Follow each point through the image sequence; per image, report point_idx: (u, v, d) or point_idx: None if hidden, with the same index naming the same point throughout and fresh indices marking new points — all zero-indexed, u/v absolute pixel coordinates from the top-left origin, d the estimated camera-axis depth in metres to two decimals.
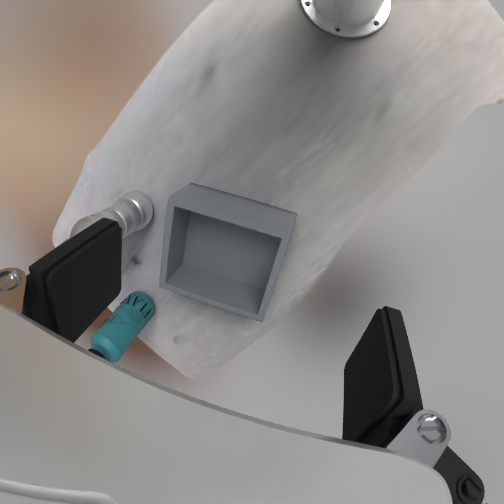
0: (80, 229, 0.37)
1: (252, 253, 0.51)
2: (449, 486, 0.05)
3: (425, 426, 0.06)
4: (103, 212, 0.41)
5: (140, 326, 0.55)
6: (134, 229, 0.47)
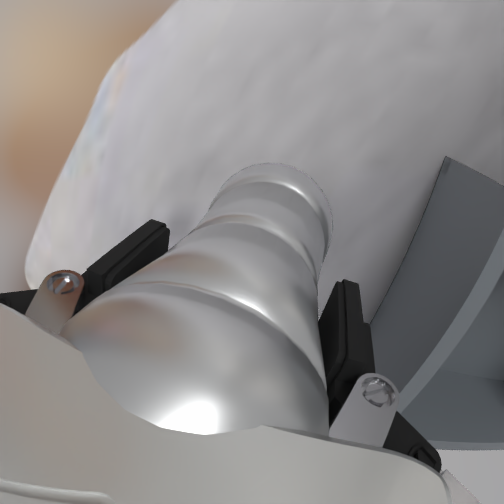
0: None
1: None
2: None
3: (370, 390, 0.06)
4: (231, 242, 0.08)
5: None
6: None
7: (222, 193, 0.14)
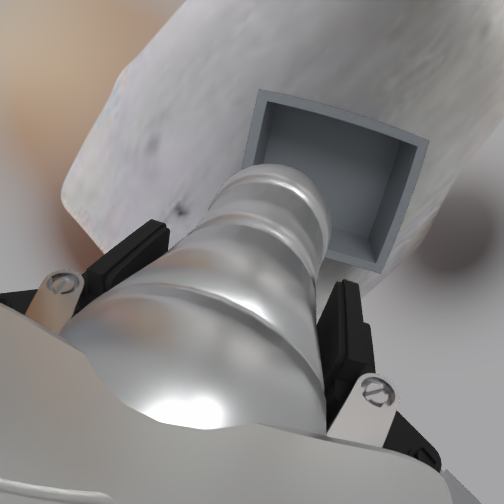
0: None
1: (354, 185, 0.36)
2: None
3: (370, 390, 0.06)
4: (230, 244, 0.08)
5: None
6: None
7: (221, 194, 0.14)
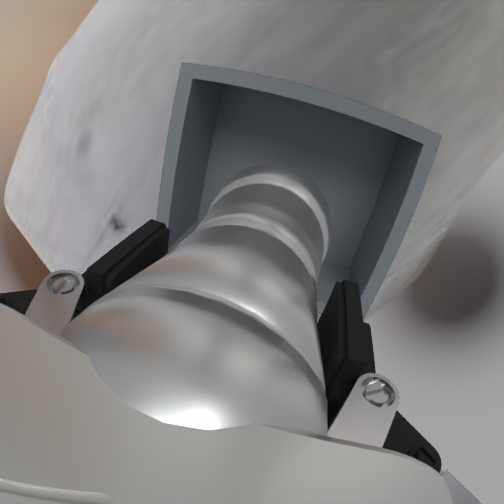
0: None
1: (331, 197, 0.26)
2: None
3: (370, 390, 0.06)
4: (231, 245, 0.08)
5: None
6: None
7: (221, 194, 0.14)
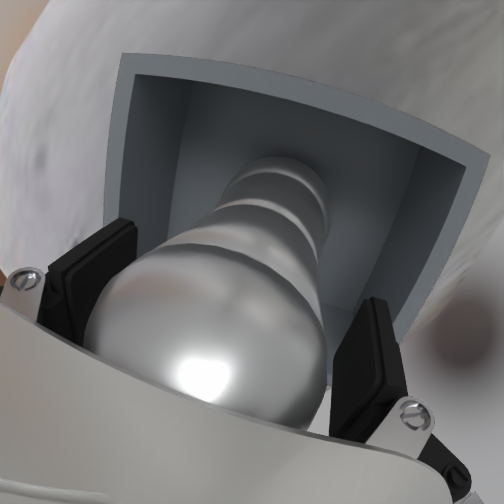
0: (169, 360, 0.05)
1: (332, 227, 0.21)
2: None
3: (408, 413, 0.06)
4: (246, 218, 0.09)
5: None
6: None
7: (233, 182, 0.16)
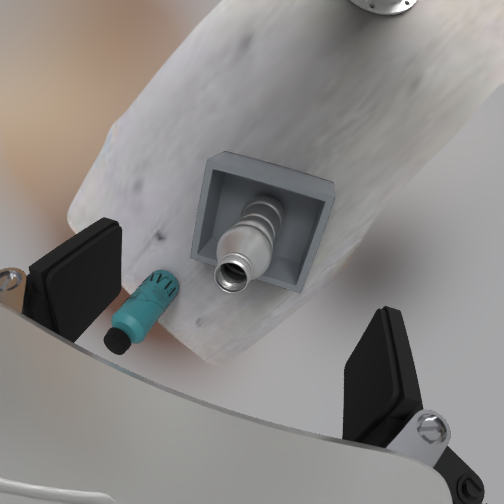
0: (243, 240, 0.33)
1: (287, 223, 0.49)
2: (449, 486, 0.05)
3: (425, 426, 0.06)
4: (253, 219, 0.38)
5: (165, 305, 0.53)
6: None
7: (247, 206, 0.44)
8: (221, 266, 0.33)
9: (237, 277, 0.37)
